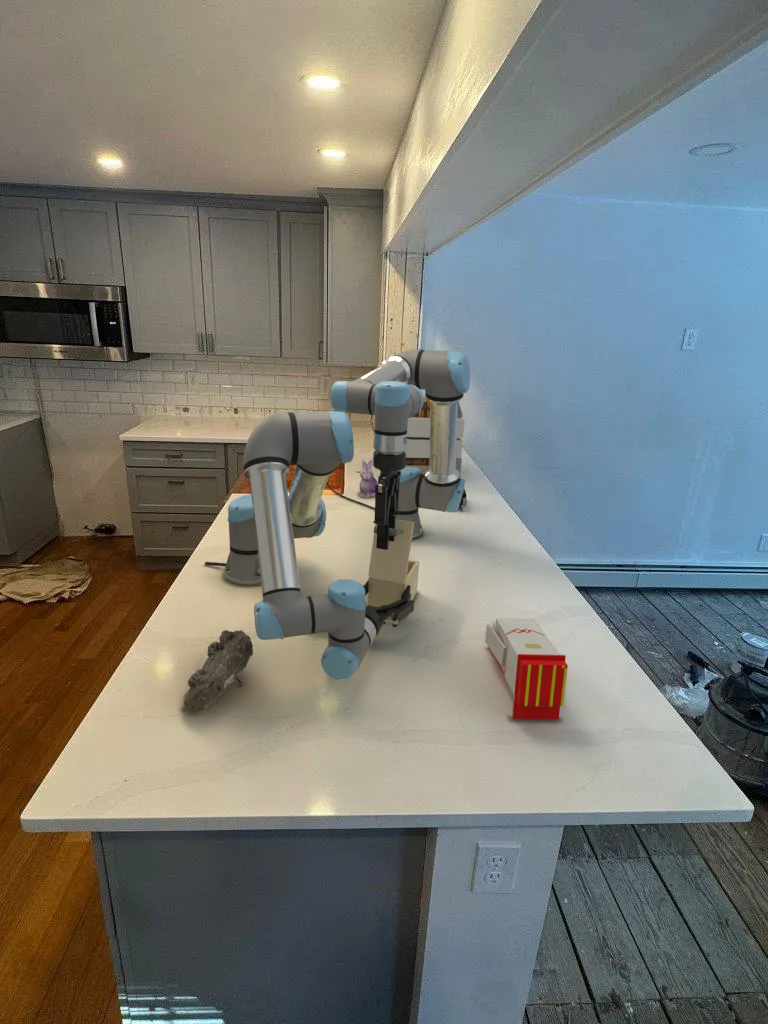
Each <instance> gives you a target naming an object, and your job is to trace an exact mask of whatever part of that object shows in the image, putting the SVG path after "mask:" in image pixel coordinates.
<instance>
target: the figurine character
mask: <svg viewBox="0 0 768 1024" xmlns="http://www.w3.org/2000/svg"><path fill="white" fill-rule="evenodd" d="M467 503H468V498H467V492H466V489H465V488H464V491H463V495H462V499H461V502H460V505H459V507H458V509H460V511H463V507H464V508H465V507H467Z"/></svg>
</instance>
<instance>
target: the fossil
mask: <svg viewBox="0 0 768 1024" xmlns="http://www.w3.org/2000/svg"><path fill="white" fill-rule="evenodd" d="M220 633H221V634H220V635H219V637H218V639H219V640H218V641H213V642H210V643H209V645H208V647H207V658H206V660H205V661H204V664H203V665H202V667H201V669H200V668H199V669H197V670H196V671H195V672H194V673H192V674H191V675H190V676H189V678H188V680H187V685H188V687H189V689H188V690H187V691H186V693H185V694H184V696H183V697H184V698H183V699H182V701H183V705H184V706H183V707H184V709H186V710H187V709H188V710H189V711H191V712H195V711H198V710H203V709H204V710H206V709H207V708H209V707H210V706H211V705H212V704H213V703H214V702H215V701H217V700H218V699H219V697H220V696H221V695H223V693H225V692H226V691H227V690H228V689H229V688H230V686H231V685H232V683H233V682H235V681H237V682H238V684H240V685H241V684H242V683H243V682H242V680H241V679H240V678H239V677H238V676H239V674H240V673H241V672H244V670H245V669H246V668H247V666H248V663H249V661H250V659H251V657H252V656H253V655H254V643H253V641H252V638H251V637H250V635H249V634H246V633H245V631H243V630H242V629H240V630H238V629H237V630H233V631H231V630H230V631H229V630H227V629H225V630H222V632H220Z"/></svg>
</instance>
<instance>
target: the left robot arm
mask: <svg viewBox="0 0 768 1024" xmlns="http://www.w3.org/2000/svg"><path fill="white" fill-rule="evenodd" d="M354 455H355V442H354V433H353V426H352V423H351V419H350V417H349V416H348V414H347V413H345V412H341V411H333V410H327V411H323V410H321V411H279V412H275V413H273V414H270V415H268V416H266V417H265V418H264V419H262V420H261V421H260V422H259V423H258V424H257V425H256V426H255V427H254V429H253V430H252V432H251V434H250V436H249V437H248V439H247V442H246V444H245V447H244V452H243V459H242V465H243V475H244V477H245V478H246V479H247V480H249V485H250V493H249V494H244V495H242V496H238V497H236V498H235V499H233V500H232V501H231V502H230V503H229V504H228V507H227V522H228V533H229V534H228V536H229V538H228V540H229V553H228V556H227V560H226V562H217V561H215V562H213V561H204V565H205V566H215V567H224V578H225V579H226V580H227V582H229V583H231V584H234V585H236V586H237V585H238V586H246V587H250V586H260V585H261V594H262V600H261V601H258V602H256V603H255V604H254V607H253V617H254V627H255V628H254V629H255V633H256V636H257V638H258V639H260V640H262V641H268V640H269V641H270V640H279V639H280V640H284V639H287V638H293V637H301V636H307V635H314V634H322V633H323V634H324V633H327V642H328V643H327V646H326V647H325V649H324V651H323V652H322V655H321V658H320V665H321V669H322V670H323V672H324V673H325V674H326V675H327V676H328V677H330V678H331V679H334V680H339V681H344V680H348V679H349V678H351V677H352V676H353V675H354V674H355V672H356V671H357V670H358V669H359V668H360V666H361V663H362V661H363V660H364V658H365V656H366V655H367V653H368V651H369V649H370V648H371V646H372V644H374V641H375V639H376V638H377V637H378V635H379V633H380V631H381V630H382V627H383V626H385V625H386V624H391V625H392V628H397V627H398V626H399V623H401V622H402V621H403V620H405V618H407V617H408V616H409V615H410V614H412V613H413V612H414V611H415V601H414V599H413V600H411V594H410V588H411V586H410V585H408V586H407V588H406V589H405V591H404V592H403V594H402V596H401V600H398V601H396V602H394V603H391V604H389V605H387V606H386V605H383V606H380V607H373V606H370V605H368V603H367V602H366V597H367V596H368V585H369V578H368V579H367V581H366V582H365V583H364V585H362V584H361V582H359V581H356V580H353V579H348V578H347V579H345V578H344V579H338V580H337V581H333V582H331V583H330V584H329V586H328V590H327V593H323V594H316V595H315V594H314V595H305V596H302V592H301V582H300V576H299V567H298V560H297V553H296V552H297V551H296V545H295V544H296V543H295V539H304V538H305V539H310V538H314V537H320V536H321V535H322V534H323V533H324V530H325V528H326V521H327V507H326V503H325V502H324V500H323V499H322V496H323V494H324V491H325V488H326V485H327V482H328V479H329V477H330V475H332V474H334V473H335V472H336V471H337V470H338V468H339V467H340V465H341V464H344V465H345V464H347V463H351V462H352V461H353V459H354ZM290 466H294V469H293V475H292V479H291V483H290V487H289V490H288V483H287V476H288V475H289V474H290V471H291V469H290Z"/></svg>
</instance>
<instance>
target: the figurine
mask: <svg viewBox="0 0 768 1024" xmlns="http://www.w3.org/2000/svg"><path fill="white" fill-rule="evenodd" d="M372 466H373V459H370V460H369V461H368V462H366V461H365V460H362V461H361V471H360V473H359V475H360V478H361V480H360V482H359V492H358V495H359V497H360V498H365V499H369V498H375V484H379V483H378V479H376V478H375V477H374V472H373V468H372Z"/></svg>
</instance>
